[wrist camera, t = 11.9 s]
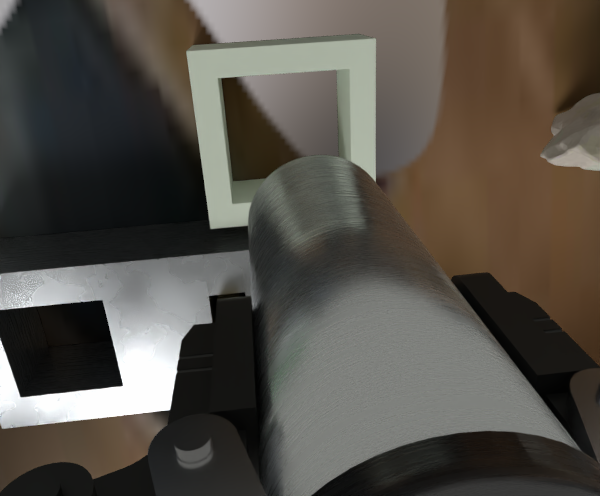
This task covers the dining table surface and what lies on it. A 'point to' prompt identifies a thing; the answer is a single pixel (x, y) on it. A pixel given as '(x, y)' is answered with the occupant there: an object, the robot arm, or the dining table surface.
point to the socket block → (109, 315)
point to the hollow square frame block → (276, 60)
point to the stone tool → (576, 136)
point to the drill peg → (383, 358)
